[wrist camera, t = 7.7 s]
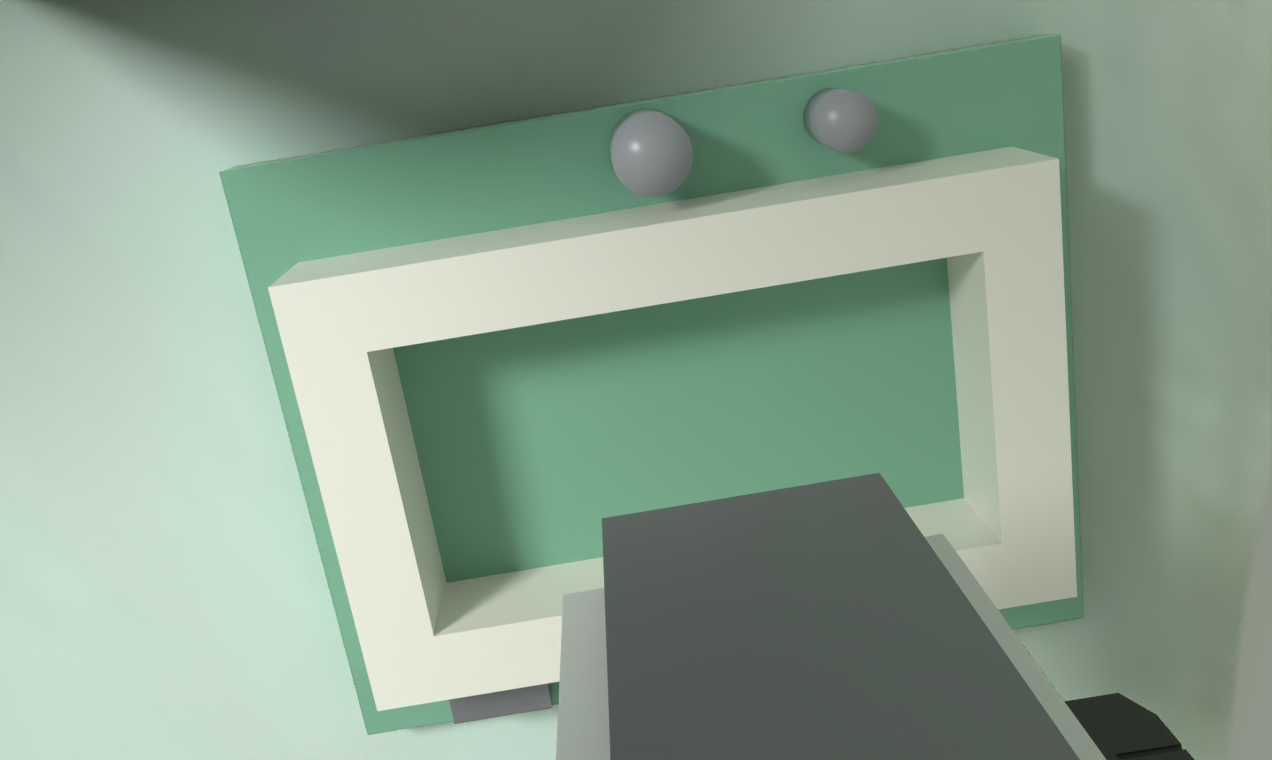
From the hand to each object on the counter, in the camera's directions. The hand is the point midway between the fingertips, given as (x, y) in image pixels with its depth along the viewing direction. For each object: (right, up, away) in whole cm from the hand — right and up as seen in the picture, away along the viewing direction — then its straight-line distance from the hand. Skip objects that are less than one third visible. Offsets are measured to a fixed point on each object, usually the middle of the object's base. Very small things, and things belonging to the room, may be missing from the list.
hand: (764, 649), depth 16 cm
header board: (-1, +3, +11) cm, 11 cm away
